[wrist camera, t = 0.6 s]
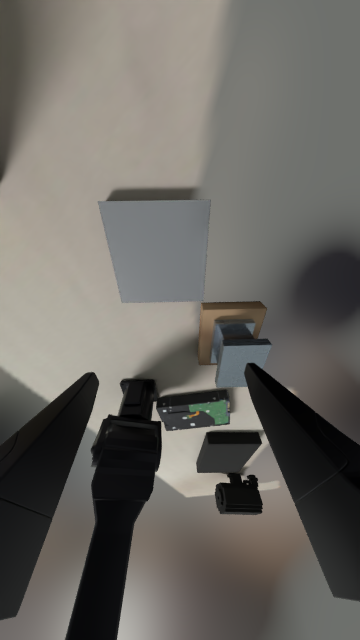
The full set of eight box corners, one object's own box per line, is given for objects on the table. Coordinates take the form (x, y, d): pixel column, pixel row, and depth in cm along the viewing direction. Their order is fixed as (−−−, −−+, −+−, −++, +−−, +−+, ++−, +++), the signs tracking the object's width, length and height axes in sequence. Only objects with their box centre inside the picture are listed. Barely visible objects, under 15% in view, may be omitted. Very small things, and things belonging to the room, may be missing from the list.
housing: (241, 357, 24) (255, 386, 20) (209, 358, 24) (216, 387, 20) (252, 318, 21) (272, 344, 16) (214, 319, 21) (224, 346, 16)
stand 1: (201, 295, 21) (203, 301, 20) (125, 297, 21) (121, 302, 19) (207, 201, 15) (210, 199, 14) (104, 202, 15) (97, 201, 14)
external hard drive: (257, 430, 44) (262, 443, 41) (236, 460, 56) (238, 472, 54) (206, 430, 43) (208, 444, 41) (196, 461, 56) (197, 472, 53)
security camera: (250, 478, 67) (260, 515, 59) (210, 475, 64) (216, 514, 55) (259, 473, 64) (272, 512, 55) (218, 469, 60) (225, 510, 52)
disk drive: (167, 418, 40) (227, 412, 38) (166, 431, 37) (230, 425, 36) (156, 395, 34) (226, 387, 33) (154, 408, 32) (230, 400, 30)
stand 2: (244, 354, 27) (249, 363, 25) (197, 355, 27) (199, 365, 25) (260, 301, 22) (267, 308, 20) (201, 302, 21) (203, 310, 20)
